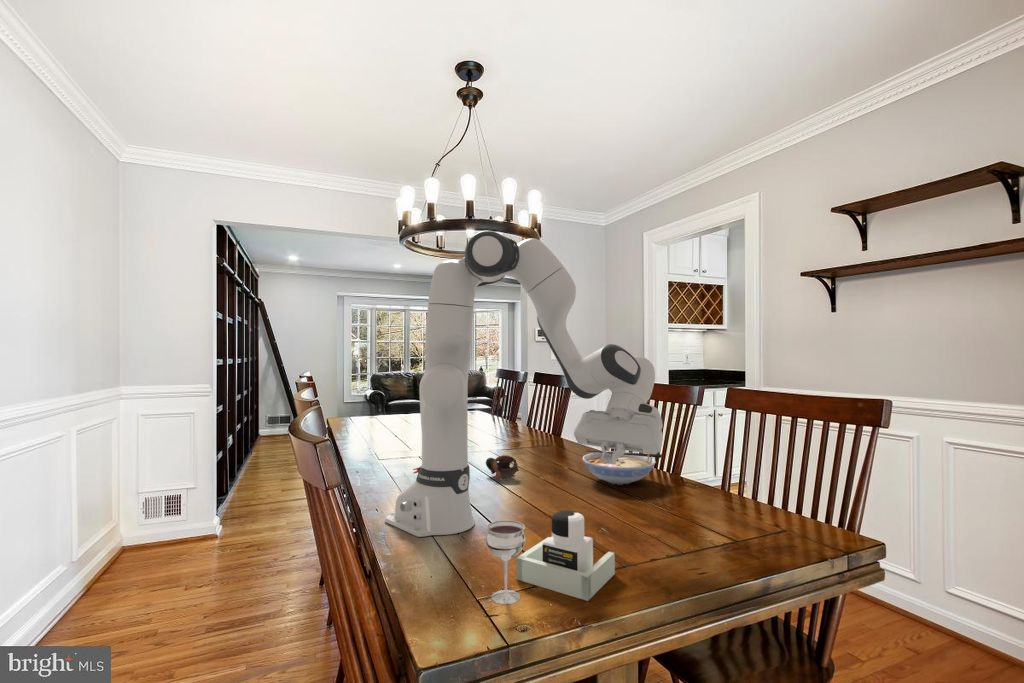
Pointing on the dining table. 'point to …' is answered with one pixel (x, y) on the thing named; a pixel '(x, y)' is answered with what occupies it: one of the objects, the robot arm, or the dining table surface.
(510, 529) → the wineglass
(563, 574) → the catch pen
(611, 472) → the ramen bowl
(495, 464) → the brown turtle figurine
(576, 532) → the medicine bottle
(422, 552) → the dining table surface
